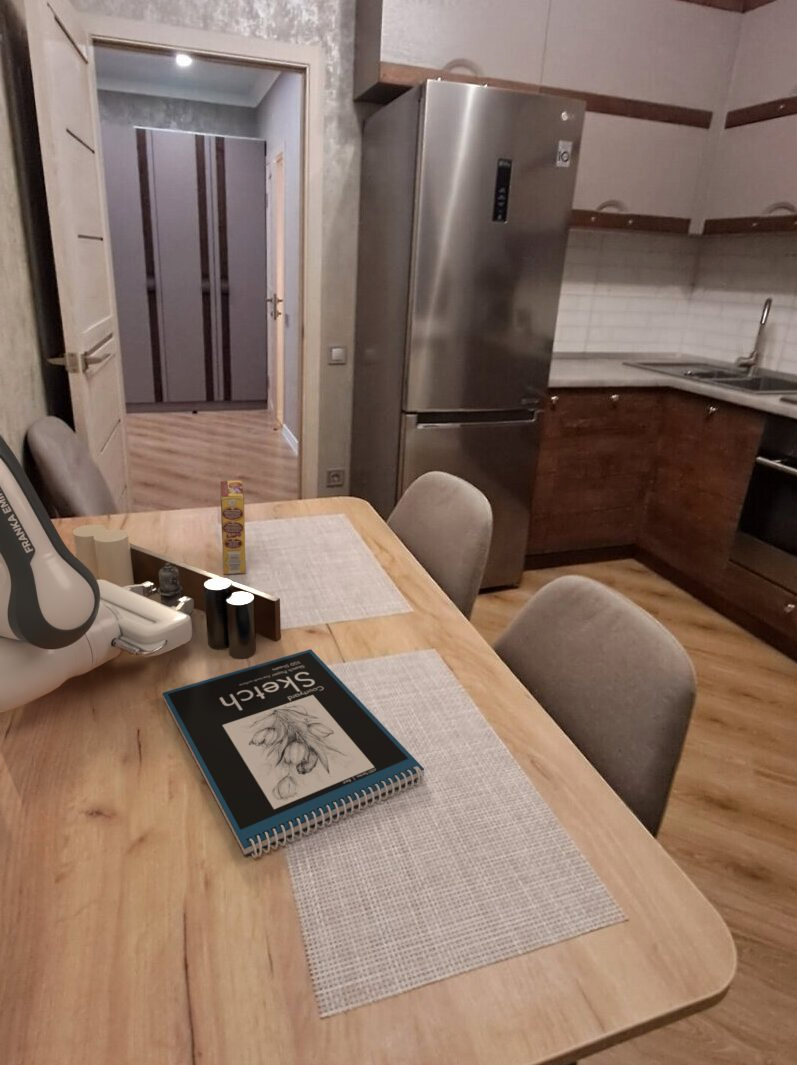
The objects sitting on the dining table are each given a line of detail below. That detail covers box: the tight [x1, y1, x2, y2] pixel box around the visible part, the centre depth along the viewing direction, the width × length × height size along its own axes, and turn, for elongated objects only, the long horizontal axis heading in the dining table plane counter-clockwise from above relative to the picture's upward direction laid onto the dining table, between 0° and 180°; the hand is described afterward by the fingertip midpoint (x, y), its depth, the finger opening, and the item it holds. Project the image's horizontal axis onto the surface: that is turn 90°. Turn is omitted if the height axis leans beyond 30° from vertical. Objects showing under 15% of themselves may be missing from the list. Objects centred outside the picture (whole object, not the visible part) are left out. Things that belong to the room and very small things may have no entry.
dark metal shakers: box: [204, 577, 257, 660], centre depth 98 cm, size 8×4×10 cm, turn 59°
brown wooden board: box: [129, 542, 282, 642], centre depth 110 cm, size 38×1×7 cm, turn 59°
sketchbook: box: [162, 648, 425, 860], centre depth 81 cm, size 22×30×2 cm
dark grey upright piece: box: [157, 562, 193, 618], centre depth 101 cm, size 6×6×12 cm
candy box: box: [219, 479, 246, 575], centre depth 123 cm, size 9×4×15 cm, turn 14°
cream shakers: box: [71, 523, 135, 587], centre depth 111 cm, size 11×5×12 cm, turn 59°
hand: (171, 594), depth 101 cm, fingers open, 7 cm apart
